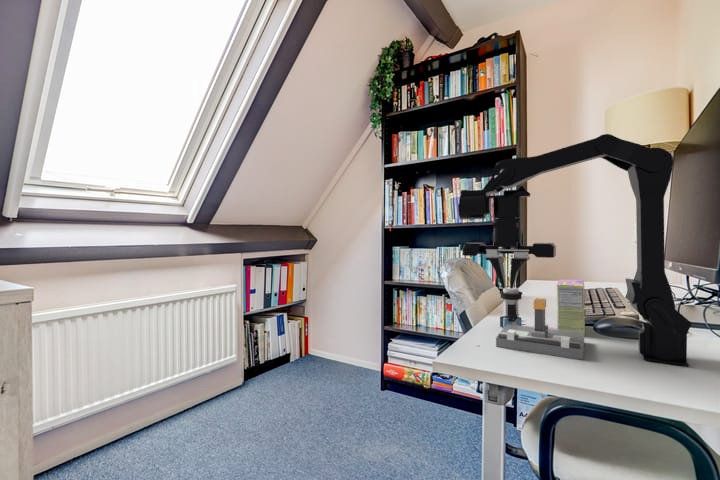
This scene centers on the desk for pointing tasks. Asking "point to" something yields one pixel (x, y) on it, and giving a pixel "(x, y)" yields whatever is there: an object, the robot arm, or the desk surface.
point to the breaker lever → (540, 314)
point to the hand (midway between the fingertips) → (507, 288)
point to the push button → (510, 307)
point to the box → (570, 306)
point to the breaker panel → (542, 341)
